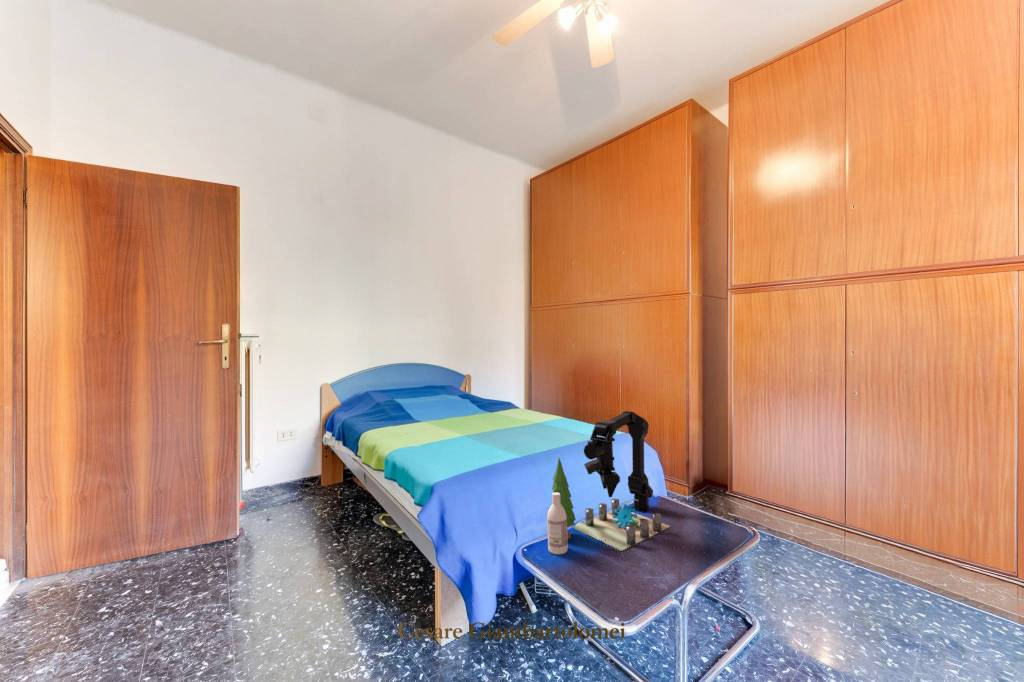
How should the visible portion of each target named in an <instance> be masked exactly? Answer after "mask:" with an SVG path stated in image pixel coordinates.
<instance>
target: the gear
mask: <svg viewBox="0 0 1024 682" xmlns="http://www.w3.org/2000/svg"><path fill="white" fill-rule="evenodd" d="M632 506H633V505H631V504H629V505H628V504H627V503H623V506H622V505H621V504H619V506H618V508H619V512H618V510H617V509H615V510H614V512H615V513H617V514H618V516H615V515H614V514H613V518H617V519H618V520H614V523H615V524H616V523H618V522H621V523H620V524H617V526H618V527H619V528H620V527H621V525H622V524H624V525H623V526H622V528H623V529H626V524H627V523H628V525H631V524H633V525H635V526H637V527H639V526H638V524H639V522H638V520H634V519H632V516H634V517H635V518H637V514H638V513H636V512H637V510H635V508H632ZM621 508H622V510H621ZM631 512H633V513H636V514H632V513H631ZM630 523H631V524H630Z"/></svg>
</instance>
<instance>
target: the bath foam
mask: <svg viewBox="0 0 1024 682" xmlns="http://www.w3.org/2000/svg"><path fill="white" fill-rule="evenodd" d="M553 492H554V491H553ZM553 492H552V493H551V502H552V503H551V505H550V506H549V509H548V511H547V515H546V518H547V519H546V523H547V525H546V526H547V548H548V549H547V550H548V552H550V553H551V554H553V555H564V554H566V553H567V552H568V550H569V549H568V548H569V547H568V544H569V543H568V542H569V541H568V540H569V539H567V530H568V528H567V516H566V512H565V510H564V508H563V507H562V505H561V503H560V493H558V492H554V493H553Z"/></svg>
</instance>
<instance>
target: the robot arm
mask: <svg viewBox="0 0 1024 682" xmlns="http://www.w3.org/2000/svg"><path fill="white" fill-rule="evenodd" d="M624 426H627V431H628V433H629V435H630V437H631V439H632V447H631V448H632V453H631V455H632V472H631V473H630V475H628V476H627V486H628V491H629V494H631V495H633V505H631V506H632V508H631V509H633V508H635V509H636V511H638V510H639V511H638V512H641V511H642V512H641V513H646V512H648V511H651V510H653V507H652V506H650V499H651V498H653V496H654V495H653V494H654V490H653V489H652V487H651V485H650V484H649V478H648V476H647V475H646V472H645V438H646V437H647V435H648V433H649V422H648V421H647V420H646V419H645V418H644V417H642V416H640V415H638V414H637V413H636V412H635V411H628V410H624V411H623V412H622V413H619V414H618V415H617V416H614V417H612V418H610V419H609V420H600V421H597V422H596V423H595V425H594V426H593V427H594V428H593V429H592V432H591V435H590V438H589V440H588V441H587V444H586V445H585V446H584V448H583V454H584V456H585V457H586V458H587V459H588V460H590V461H587V462H585V463H584V464H583V465H584V467H585V470H586V472H587V474H588V475H592V474H593V473H595V472H596V473H597V474H598V475H599V477H600V481H601V485H602V488H603V490H605V489H606V491H607V495H608V498H612V497H613V495H614V493H615V491H616V489H617V486H618V485H619V483H620V482H621V476H620V475H619V474H618V472H616V467H615V466H614V461H615V456H614V450H613V442H614V441H616V439H615V437H614V436H616V434H617V430H619V429H620V428H622V427H624ZM650 509H651V510H650ZM645 511H646V512H645Z"/></svg>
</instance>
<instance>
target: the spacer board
mask: <svg viewBox="0 0 1024 682" xmlns="http://www.w3.org/2000/svg"><path fill="white" fill-rule="evenodd" d="M622 509H623V507H622V508H621V510H622ZM631 513H632V514H637V518H635V517H634V516H632V519H634V520H638V522H639V524H638V526H639V527H637V526H635V525H633V524H631V523H630V524H631V525H633V526H635V535H636V545H638V544H640V543H641V541H642V542H644V541H646V540H645V539H643V538H641V537H640V519H647V520H648V521H649V538H648V539H650V538H652V537H654V536H656V535H657V533H658V534H660V533H659V532H654V531H653V521H652V518H649V517H646V516H643V515H641V514H638V513H636V512H631ZM614 520H618V519H617V518H613V515H612V511H610V512H607V521H601V520H599V516H597V517H594V526H592V527H589V526H586V523H584V522H582V523H583V524H582V523H579V524H577V525H575V526H574V525H573V526H571V528H572V529H573V528H574V529H573V530H575V529H576V530H575V531H577V530H578V531H577V532H579V531H580V532H579V533H581V532H582V533H581V534H583V533H584V534H583V535H585V534H586V535H585V536H587V535H589V536H591V537H593V538H595V539H597V540H600V541H601V540H602V542H604V543H605V544H604V545H606V544H607V545H606V546H608V545H610V546H612V547H614V548H615V549H614V548H613V549H614V550H616V549H617V550H616V551H618V550H619V551H618V552H620V551H622V552H624V551H626V550H628V549H630V548H632V547H631V546H630V545H628V544H627V540H626V529H623V528H622V526H623V525H624V524H622V525H621V527H620V528H619V527H618V526H617V524H620V523H621V522H618V523H616V524H615V523H614ZM627 525H628V523H627V524H626V526H627ZM661 527H662V532H663V530H664V531H666V530H668V529H670V528H671V526H670V525H668V524H665V523H663V522H661ZM669 527H670V528H669ZM667 528H668V529H667ZM665 529H666V530H665ZM589 536H588V537H589ZM591 537H590V538H591ZM593 538H592V539H593ZM595 539H594V540H595ZM597 540H596V541H597ZM605 540H606V541H605ZM613 540H614V541H613ZM643 540H644V541H643ZM639 542H640V543H639ZM637 543H638V544H637ZM610 546H609V547H610ZM612 547H611V548H612ZM629 547H630V548H629ZM627 548H628V549H627ZM625 549H626V550H625ZM623 550H624V551H623Z"/></svg>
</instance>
